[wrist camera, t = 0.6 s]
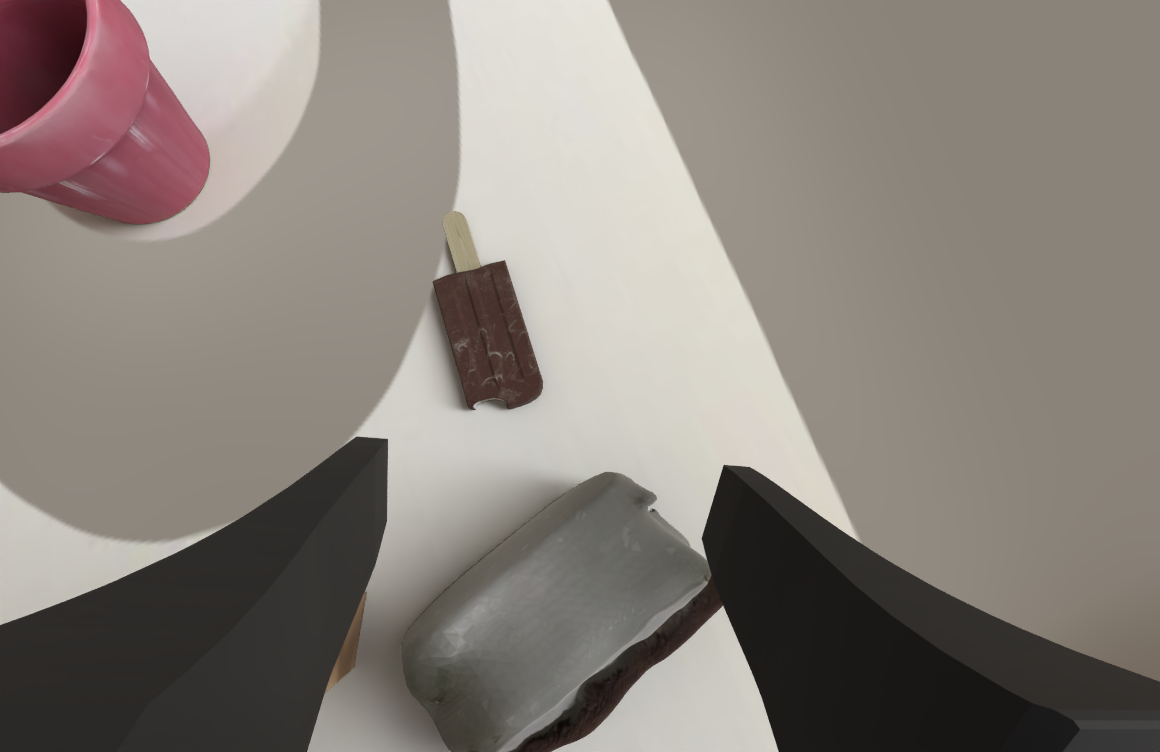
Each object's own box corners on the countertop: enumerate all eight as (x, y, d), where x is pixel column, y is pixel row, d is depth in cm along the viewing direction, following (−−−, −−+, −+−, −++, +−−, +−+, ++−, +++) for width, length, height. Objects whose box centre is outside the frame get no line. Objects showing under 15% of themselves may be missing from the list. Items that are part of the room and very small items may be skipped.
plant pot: (9, 190, 40) (-253, 58, 27) (141, 52, 42) (-45, -130, 29) (156, 295, 38) (-46, 208, 26) (284, 147, 41) (155, 0, 28)
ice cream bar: (419, 228, 40) (475, 421, 37) (413, 217, 38) (471, 418, 36) (488, 208, 40) (548, 398, 38) (485, 197, 39) (547, 394, 36)
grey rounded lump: (498, 785, 33) (476, 879, 25) (391, 634, 35) (339, 679, 27) (720, 586, 36) (762, 616, 28) (611, 452, 37) (622, 445, 29)
